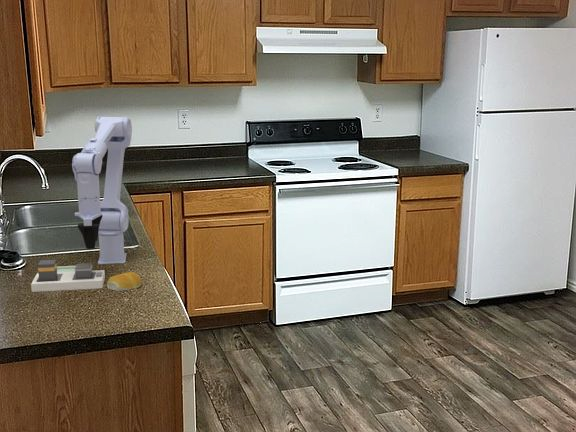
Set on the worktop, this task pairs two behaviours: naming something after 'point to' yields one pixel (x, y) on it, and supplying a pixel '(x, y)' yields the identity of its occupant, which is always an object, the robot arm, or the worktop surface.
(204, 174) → the worktop surface
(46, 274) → the plug
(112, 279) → the bread roll
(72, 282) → the strip
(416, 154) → the worktop surface
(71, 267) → the tray
